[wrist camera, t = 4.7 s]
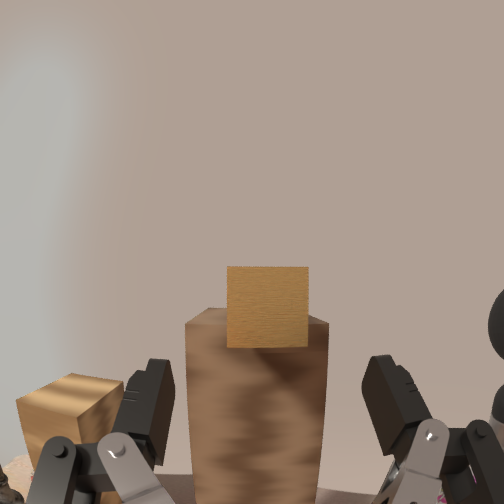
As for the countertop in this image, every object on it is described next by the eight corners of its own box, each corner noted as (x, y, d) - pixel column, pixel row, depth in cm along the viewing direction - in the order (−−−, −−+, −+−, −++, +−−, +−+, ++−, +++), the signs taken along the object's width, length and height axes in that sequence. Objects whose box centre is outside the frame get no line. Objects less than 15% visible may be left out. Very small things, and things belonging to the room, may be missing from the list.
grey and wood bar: (235, 308, 37) (236, 278, 37) (265, 308, 37) (265, 279, 37) (226, 347, 13) (227, 266, 13) (307, 346, 13) (308, 267, 13)
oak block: (94, 491, 32) (71, 373, 34) (141, 501, 33) (123, 381, 35) (61, 536, 19) (15, 399, 22) (117, 554, 20) (76, 417, 22)
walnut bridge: (284, 507, 34) (292, 308, 37) (300, 581, 18) (328, 323, 21) (215, 508, 33) (208, 307, 37) (208, 583, 17) (185, 323, 21)
